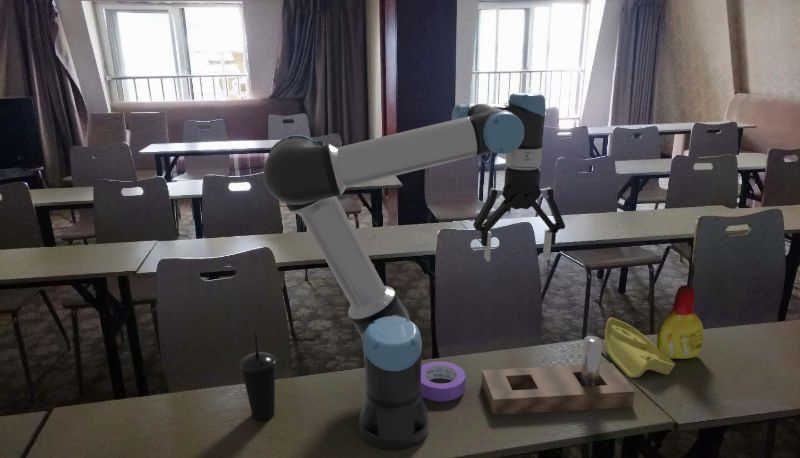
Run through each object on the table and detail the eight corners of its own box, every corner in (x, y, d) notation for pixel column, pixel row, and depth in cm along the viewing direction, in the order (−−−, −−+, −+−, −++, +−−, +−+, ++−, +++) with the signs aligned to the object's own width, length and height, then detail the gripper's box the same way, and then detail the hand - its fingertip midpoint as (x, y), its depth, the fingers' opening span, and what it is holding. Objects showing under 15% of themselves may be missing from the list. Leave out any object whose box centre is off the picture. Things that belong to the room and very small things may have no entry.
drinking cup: (243, 409, 130) (234, 330, 124) (277, 401, 133) (270, 323, 126) (248, 428, 123) (239, 346, 117) (283, 420, 126) (276, 339, 120)
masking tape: (475, 389, 136) (475, 375, 135) (439, 408, 129) (439, 394, 128) (441, 369, 145) (441, 356, 144) (406, 386, 138) (406, 372, 137)
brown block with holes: (492, 415, 126) (493, 399, 125) (481, 384, 138) (482, 370, 137) (633, 406, 128) (635, 391, 127) (610, 377, 140) (612, 363, 139)
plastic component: (679, 367, 140) (649, 356, 136) (662, 391, 142) (632, 381, 138) (633, 325, 158) (605, 315, 154) (619, 347, 160) (591, 337, 156)
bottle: (660, 364, 145) (670, 292, 139) (648, 351, 151) (657, 282, 145) (705, 361, 146) (717, 289, 140) (691, 349, 152) (702, 279, 146)
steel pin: (582, 399, 132) (587, 345, 127) (576, 389, 135) (581, 336, 131) (599, 398, 132) (605, 344, 128) (592, 388, 136) (598, 335, 131)
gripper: (468, 170, 119) (465, 265, 125) (585, 169, 120) (576, 263, 127) (463, 163, 126) (459, 253, 133) (573, 162, 128) (565, 252, 134)
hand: (516, 258), depth 130 cm, fingers open, 13 cm apart
